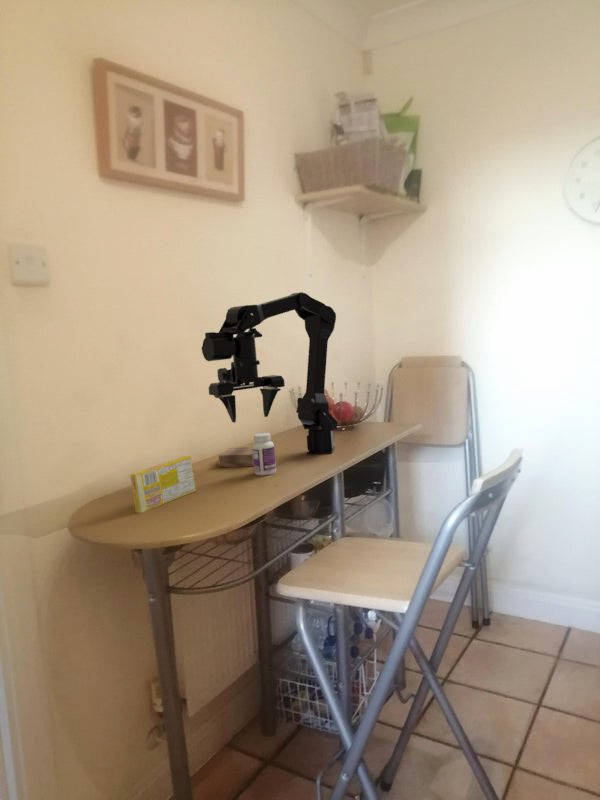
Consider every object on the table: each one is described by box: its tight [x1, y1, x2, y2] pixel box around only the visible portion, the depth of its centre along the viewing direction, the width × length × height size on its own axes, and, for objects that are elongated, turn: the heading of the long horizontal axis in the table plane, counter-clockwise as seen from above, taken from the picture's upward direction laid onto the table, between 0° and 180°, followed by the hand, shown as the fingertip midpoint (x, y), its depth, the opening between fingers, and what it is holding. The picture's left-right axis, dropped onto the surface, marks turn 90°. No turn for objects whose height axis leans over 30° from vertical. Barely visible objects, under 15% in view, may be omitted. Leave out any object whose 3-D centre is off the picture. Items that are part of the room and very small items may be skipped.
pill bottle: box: [251, 432, 277, 476], centre depth 149 cm, size 5×5×10 cm
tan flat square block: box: [218, 446, 254, 468], centre depth 164 cm, size 9×9×3 cm
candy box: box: [129, 455, 197, 514], centre depth 132 cm, size 16×2×8 cm, turn 146°
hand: (250, 419), depth 154 cm, fingers open, 9 cm apart
